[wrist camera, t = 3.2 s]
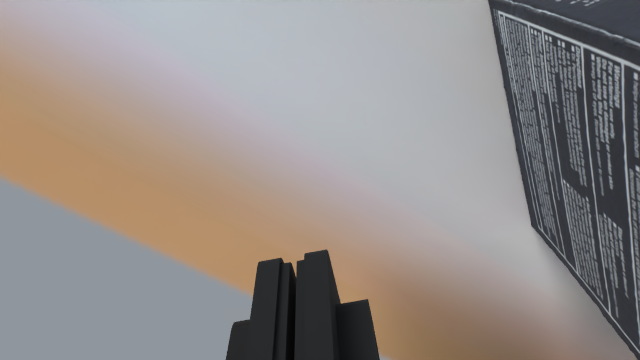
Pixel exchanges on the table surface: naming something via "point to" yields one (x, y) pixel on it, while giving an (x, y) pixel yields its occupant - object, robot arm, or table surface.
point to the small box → (580, 139)
